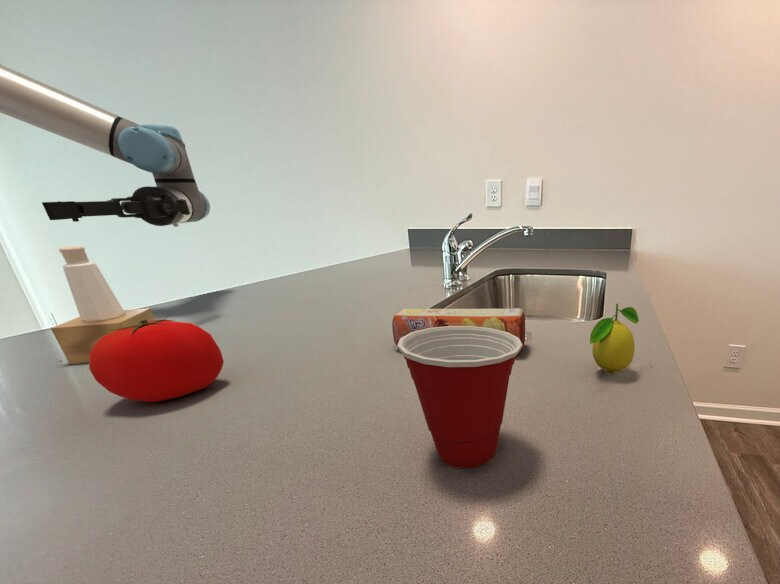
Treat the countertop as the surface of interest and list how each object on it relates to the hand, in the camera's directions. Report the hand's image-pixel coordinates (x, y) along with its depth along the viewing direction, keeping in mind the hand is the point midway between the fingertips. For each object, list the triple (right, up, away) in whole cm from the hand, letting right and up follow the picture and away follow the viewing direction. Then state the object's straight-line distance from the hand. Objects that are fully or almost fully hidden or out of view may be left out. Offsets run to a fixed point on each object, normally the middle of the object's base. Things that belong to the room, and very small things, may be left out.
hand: (97, 210), depth 68 cm
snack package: (+61, -24, -1) cm, 65 cm away
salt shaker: (+3, -18, -2) cm, 19 cm away
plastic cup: (+65, -36, -27) cm, 79 cm away
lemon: (+83, -28, -11) cm, 89 cm away
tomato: (+24, -30, -14) cm, 41 cm away
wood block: (+3, -24, +1) cm, 24 cm away
